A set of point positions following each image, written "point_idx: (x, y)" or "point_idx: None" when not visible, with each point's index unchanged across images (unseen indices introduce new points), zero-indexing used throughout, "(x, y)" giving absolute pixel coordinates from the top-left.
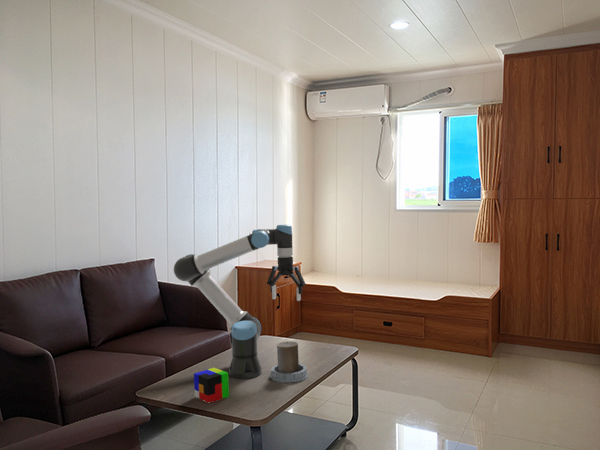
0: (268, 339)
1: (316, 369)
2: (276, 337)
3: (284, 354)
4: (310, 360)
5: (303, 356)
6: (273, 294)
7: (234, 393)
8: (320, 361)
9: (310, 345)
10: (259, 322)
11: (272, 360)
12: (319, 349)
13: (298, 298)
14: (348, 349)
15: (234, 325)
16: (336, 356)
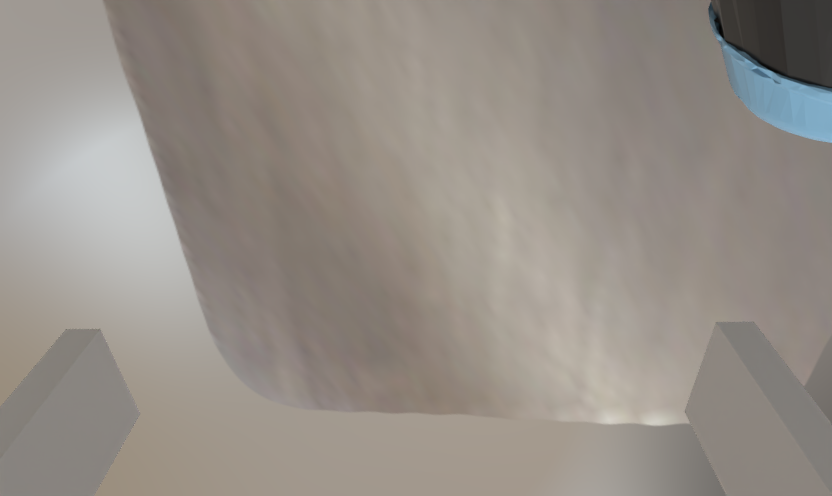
0: None
1: (189, 14)
2: None
3: None
4: (329, 161)
5: (408, 210)
6: (780, 419)
7: None
8: (266, 167)
9: (467, 371)
10: (802, 117)
11: (560, 66)
12: (390, 335)
13: (38, 382)
14: (259, 375)
15: None
16: (242, 271)
